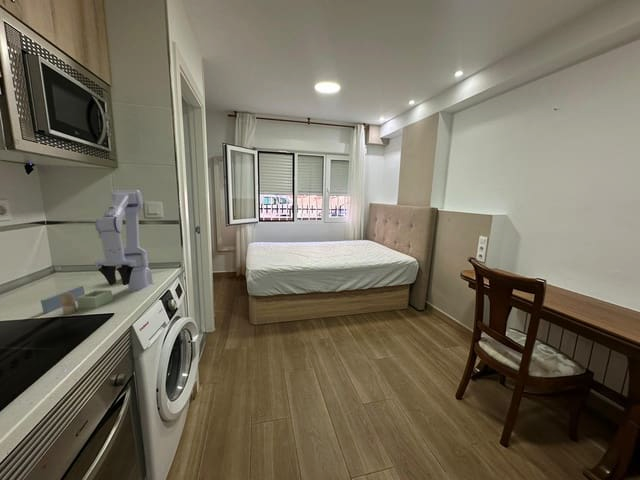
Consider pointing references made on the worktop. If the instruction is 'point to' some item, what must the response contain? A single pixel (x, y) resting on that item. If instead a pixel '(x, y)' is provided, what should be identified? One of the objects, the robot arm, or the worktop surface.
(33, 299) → the worktop surface
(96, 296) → the socket block
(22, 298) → the worktop surface
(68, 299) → the dowel
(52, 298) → the backstop wall
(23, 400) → the worktop surface
